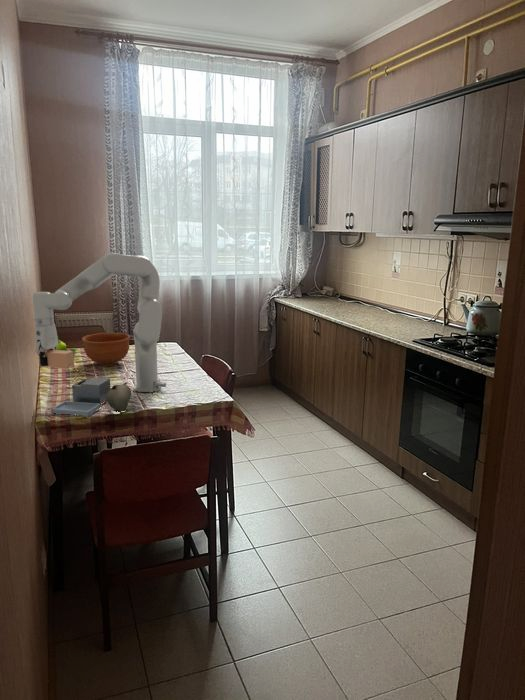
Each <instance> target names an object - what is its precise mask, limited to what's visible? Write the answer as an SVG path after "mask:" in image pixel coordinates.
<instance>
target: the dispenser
mask: <svg viewBox="0 0 525 700" xmlns="http://www.w3.org/2000/svg"><path fill="white" fill-rule="evenodd" d="M111 388H112V386H111V378H107V377H105V378H104V377H91V378H90V379H88V378H83V379H82V380H80V381H78V382H76V383H74V384H73V385H72V386H71V390H72V391H71V392H72V402H85V403H99V404H101V403H103V402H104V401H106V395H107V393H108V391H109V390H110V389H111ZM106 402H107V401H106ZM103 404H104V403H103Z"/></svg>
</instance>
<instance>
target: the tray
mask: <svg viewBox="0 0 525 700" xmlns="http://www.w3.org/2000/svg"><path fill="white" fill-rule="evenodd" d="M100 407H101V408H102V405H101V404H99V403H85V402H73V400H72V401H70V400H69V401H68V400H63V401H62V402H61V403H59V404H57V405H56V406H54V407H52V408H51V409H50V411H51V412H50V413H56V414H55V415H61V414H71V415H70V416H74V415H75V414H76V415H85V416H84V417H87V416H89V417H91V416H92V415H93V414H92V413H94V412H95V411H96V410H97V409H99V408H100ZM95 413H96V412H95ZM95 413H94V414H95ZM91 414H92V415H91ZM90 415H91V416H90Z"/></svg>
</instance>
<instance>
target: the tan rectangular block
mask: <svg viewBox="0 0 525 700" xmlns="http://www.w3.org/2000/svg"><path fill="white" fill-rule="evenodd" d="M42 352H43V353H44V351H42ZM37 355H38V354H37ZM46 357H47V360H48V366H44V368H45V367H47V368H65V369H67V368H68V369H69V368H70V367H72V366H73V367H74V365H75V360H74V359H75V355H74V356H73V351H62V350H47V351H46ZM38 364H39V365H38V366H39V367H42V366H41V365H40V357H39V355H38Z"/></svg>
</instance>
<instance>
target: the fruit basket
mask: <svg viewBox="0 0 525 700" xmlns="http://www.w3.org/2000/svg"><path fill="white" fill-rule="evenodd" d="M56 350H62V351H73V356H74V357H75V354H76V351H77V349H76V348H67V345H66V343H65V342H63V341H62V340H60V339H58V346H57V347H56Z"/></svg>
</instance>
